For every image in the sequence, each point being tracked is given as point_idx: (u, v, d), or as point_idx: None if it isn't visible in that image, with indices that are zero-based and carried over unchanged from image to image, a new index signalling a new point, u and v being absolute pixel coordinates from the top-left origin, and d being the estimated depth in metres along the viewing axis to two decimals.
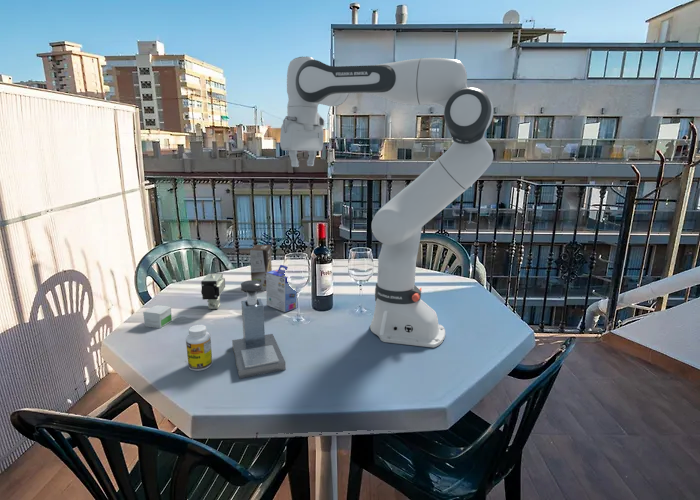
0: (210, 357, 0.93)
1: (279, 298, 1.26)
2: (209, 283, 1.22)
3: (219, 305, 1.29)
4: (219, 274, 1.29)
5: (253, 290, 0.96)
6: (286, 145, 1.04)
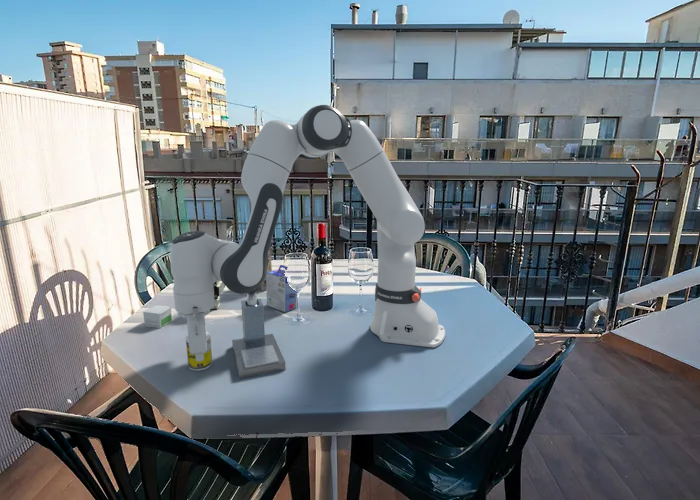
0: (210, 357, 0.93)
1: (279, 298, 1.26)
2: None
3: (219, 305, 1.29)
4: None
5: None
6: (200, 350, 0.83)
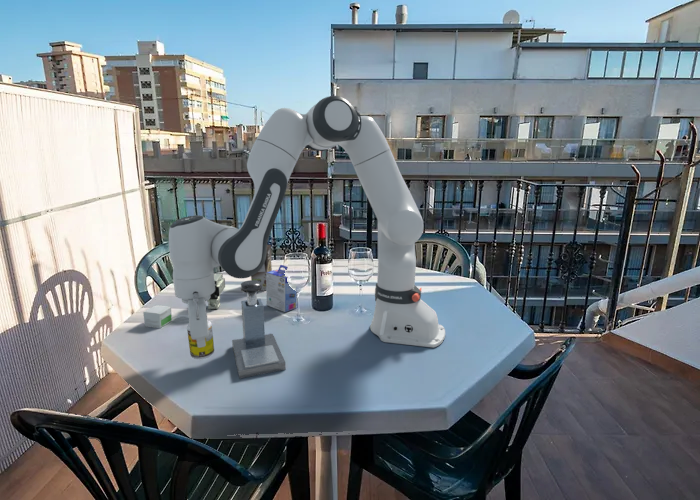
0: (212, 345, 0.92)
1: (279, 298, 1.26)
2: None
3: (219, 305, 1.29)
4: (219, 274, 1.29)
5: (253, 290, 0.96)
6: (201, 334, 0.82)
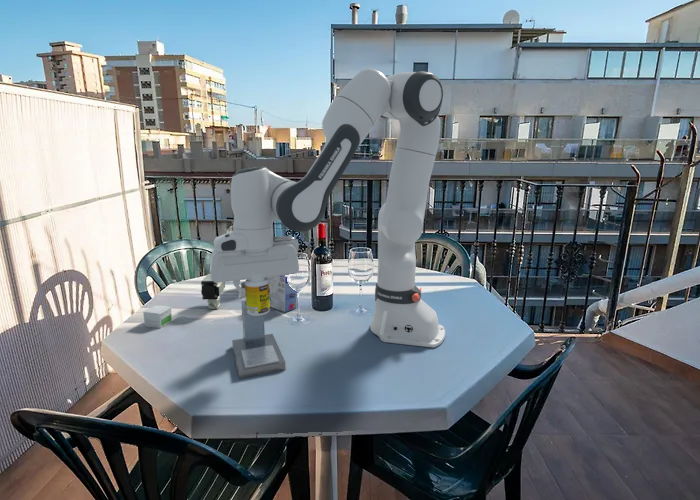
0: None
1: (279, 298, 1.26)
2: (209, 283, 1.22)
3: (219, 305, 1.29)
4: None
5: None
6: None
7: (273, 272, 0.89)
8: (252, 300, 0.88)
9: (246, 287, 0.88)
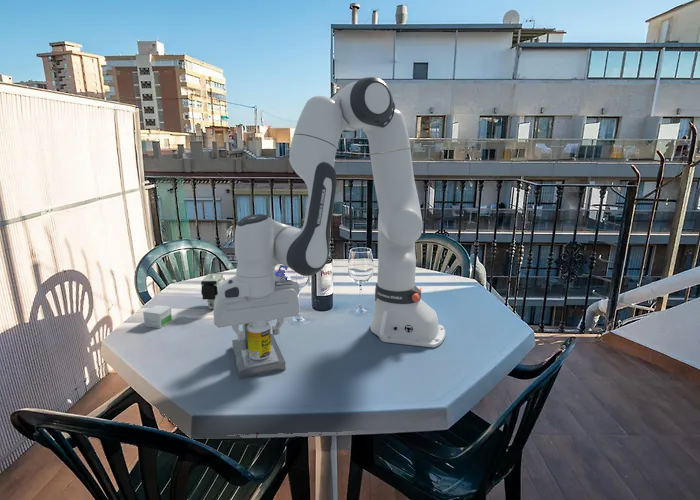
0: None
1: None
2: (209, 283, 1.22)
3: None
4: (219, 274, 1.29)
5: None
6: None
7: (274, 315, 0.91)
8: (254, 345, 0.91)
9: (248, 332, 0.91)
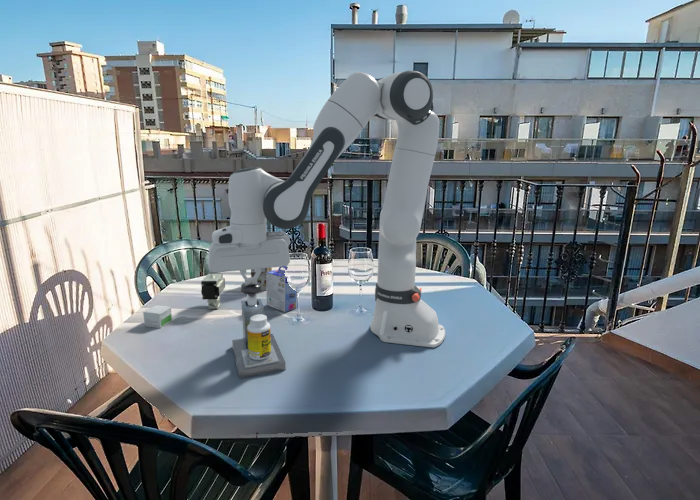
0: None
1: (279, 298, 1.26)
2: (209, 283, 1.22)
3: (219, 305, 1.29)
4: (219, 274, 1.29)
5: (253, 292, 0.96)
6: None
7: (265, 264, 0.97)
8: (254, 345, 0.91)
9: (248, 332, 0.91)
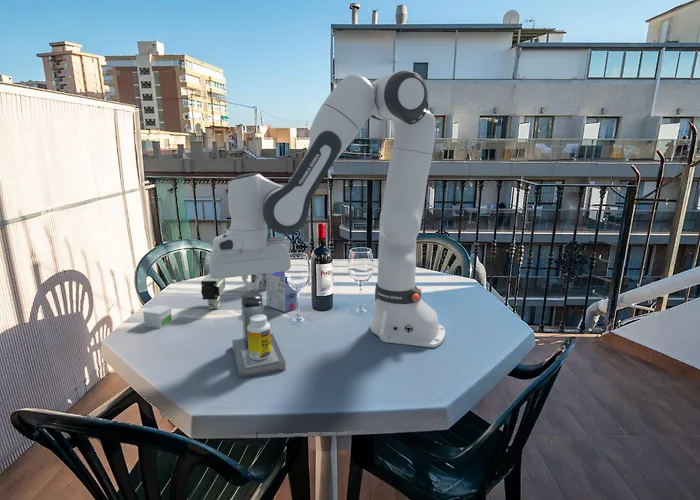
0: None
1: (279, 298, 1.26)
2: (209, 283, 1.22)
3: (219, 305, 1.29)
4: None
5: (254, 303, 0.97)
6: None
7: (267, 269, 0.97)
8: (254, 345, 0.91)
9: (248, 332, 0.91)
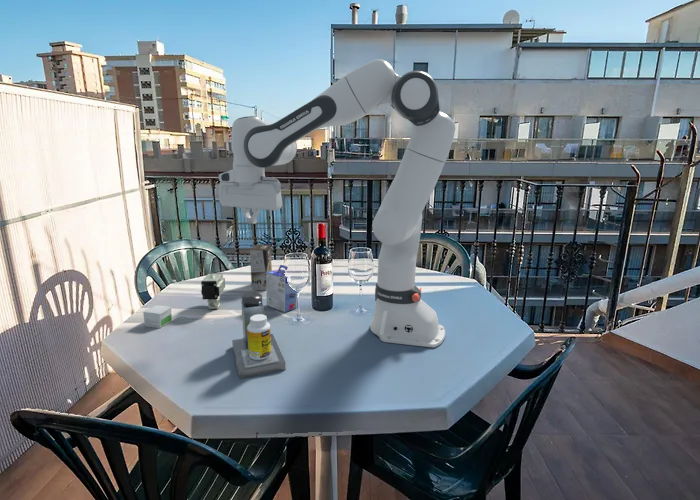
0: None
1: (279, 298, 1.26)
2: (209, 283, 1.22)
3: (219, 305, 1.29)
4: (219, 274, 1.29)
5: (254, 303, 0.97)
6: (280, 205, 1.08)
7: (257, 205, 1.08)
8: (254, 345, 0.91)
9: (248, 332, 0.91)
